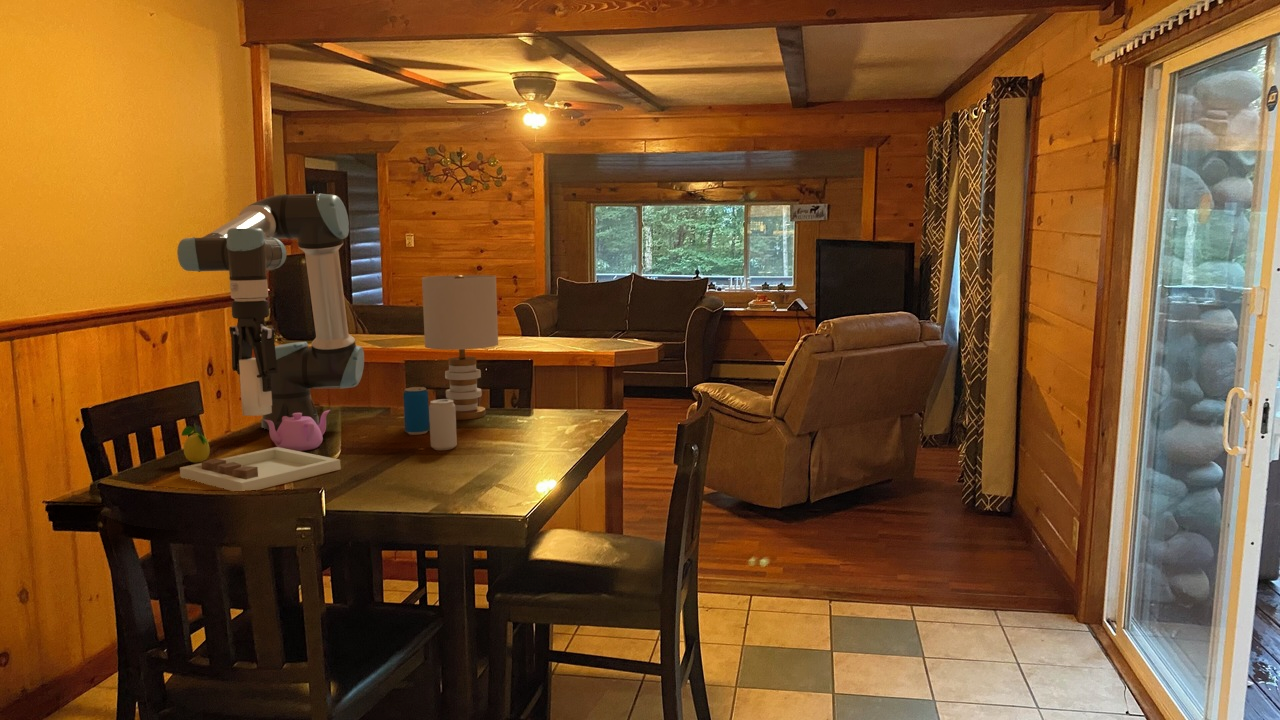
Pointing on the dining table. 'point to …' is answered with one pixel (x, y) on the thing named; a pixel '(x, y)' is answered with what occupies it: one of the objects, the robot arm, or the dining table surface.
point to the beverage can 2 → (442, 424)
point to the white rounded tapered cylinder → (250, 389)
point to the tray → (265, 469)
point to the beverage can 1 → (416, 410)
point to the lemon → (195, 446)
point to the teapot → (298, 432)
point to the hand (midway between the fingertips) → (256, 404)
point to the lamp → (461, 331)
